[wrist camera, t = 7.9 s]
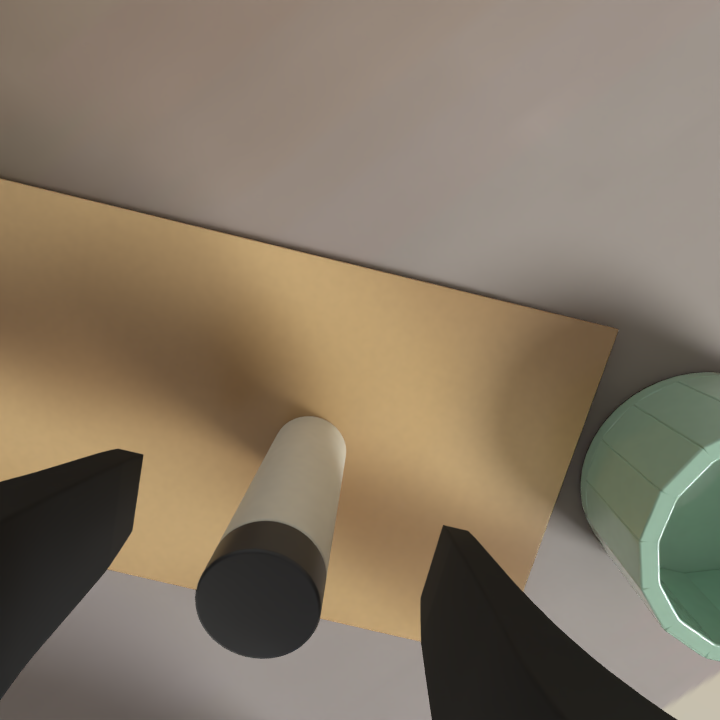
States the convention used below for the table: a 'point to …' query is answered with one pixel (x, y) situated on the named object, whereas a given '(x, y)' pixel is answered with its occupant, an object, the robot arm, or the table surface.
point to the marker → (277, 546)
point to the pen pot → (663, 502)
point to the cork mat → (284, 392)
